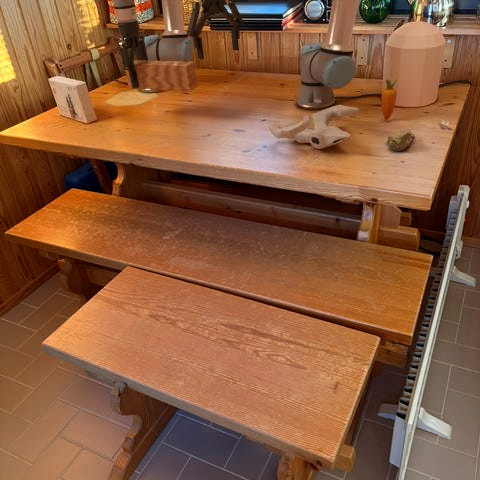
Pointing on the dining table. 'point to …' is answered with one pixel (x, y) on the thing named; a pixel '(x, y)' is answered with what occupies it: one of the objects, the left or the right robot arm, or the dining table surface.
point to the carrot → (388, 99)
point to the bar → (164, 75)
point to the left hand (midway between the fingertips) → (140, 84)
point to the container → (414, 63)
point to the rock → (400, 140)
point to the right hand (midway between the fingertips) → (218, 54)
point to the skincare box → (72, 99)
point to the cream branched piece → (316, 128)
